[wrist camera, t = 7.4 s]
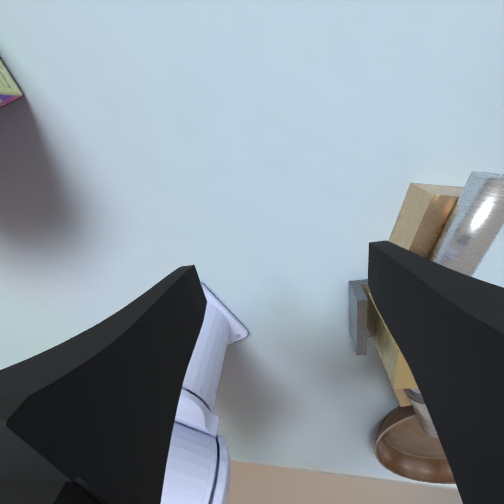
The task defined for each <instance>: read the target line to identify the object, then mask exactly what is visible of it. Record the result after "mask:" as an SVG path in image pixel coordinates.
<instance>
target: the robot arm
mask: <svg viewBox="0 0 504 504" xmlns="http://www.w3.org/2000/svg"><path fill="white" fill-rule="evenodd" d="M368 287H369V290H370V293H371V295H372V298H373V300H374V303H375V305H376V308H377V310H378V311H379V313H380V315H381V317H382V319H383V320H384V322H385V324H386V326H387V328H388V329H389V331H390V333H391V335H392V337H393V338H394V340H395V342H396V344H397V345H398V347H399V349H400V351H401V353H402V354H403V356H404V358H405V360H406V362H407V364H408V366H409V368H410V370H411V372H412V375H413V377H414V379H415V382H416V384H417V386H418V388H419V391H420V393H421V395H422V398H423V400H424V403H425V405H426V408H427V410H428V412H429V415H430V417H431V420H432V422H433V425H434V427H435V430H436V432H437V435H438V437H439V440H440V443H441V445H442V448H443V450H444V453H445V455H446V458H447V461H448V463H449V466H450V468H451V471H452V474H453V477H454V479H455V482H456V485H457V488H458V491H459V493H460V496H461V499H462V502H463V504H504V288H503V287H500V286H497V285H494V284H490V283H487V282H484V281H481V280H478V279H476V278H473V277H470V276H467V275H465V274H462V273H460V272H457V271H455V270H452V269H450V268H447V267H445V266H442V265H440V264H438V263H435V262H433V261H431V260H429V259H426V258H424V257H422V256H420V255H418V254H415V253H413V252H411V251H409V250H407V249H405V248H403V247H400V246H398V245H396V244H394V243H391V242H389V241H379V242H371V243H369V262H368ZM238 334H239V335H238ZM247 335H248V331H247V330H246V328H245V327H244V326H243V325H242V324H241V323H240V322H239V321H238V320H237V319H236V318H235V317H234V316H233V315H232V314H231V313H230V312H229V311H228V310H227V309H226V308H225V307H224V306H223V304H222V303H221V302H220V301H219V300H218V299H217V298H216V297H215V296H214V295H213V294H212V293H211V292H210V291H209V290H208V289H207V288H206V287H205V286H204V285H203V284H202V283H201V282H200V280H199V277H198V274H197V271H196V268H195V266H194V265H190V266H182V267H180V268H178V269H176V270H175V271H173V272H172V273H171V274H169V275H168V276H166V277H165V278H164V279H162V280H161V281H160V282H159V283H157V284H156V285H155V286H153V287H152V288H151V289H149V290H148V291H147V292H145V293H144V294H143V295H141V296H140V297H138V298H137V299H135V300H134V301H133V302H131V303H130V304H128V305H127V306H126V307H124V308H123V309H121V310H120V311H118V312H117V313H115V314H113V315H112V316H110V317H109V318H107V319H105V320H104V321H102V322H100V323H99V324H97V325H95V326H93V327H92V328H90V329H88V330H86V331H84V332H82V333H80V334H79V335H77V336H75V337H73V338H71V339H69V340H67V341H65V342H63V343H61V344H59V345H57V346H55V347H53V348H51V349H49V350H47V351H44V352H42V353H40V354H38V355H36V356H33V357H31V358H29V359H27V360H24V361H22V362H19V363H17V364H15V365H12V366H10V367H7V368H5V369H2V370H0V504H226V500H227V495H228V489H229V482H230V456H229V452H228V447H227V443H226V440H225V438H224V437H223V436H222V435H220V434H217V431H218V426H219V420H220V417H219V416H217V415H215V414H213V409H214V405H215V400H216V395H217V390H218V385H219V381H220V376H221V371H222V366H223V362H224V357H225V352H226V347H227V345H229V344H232V343H234V342H236V341H238V340H240V339H243V338H245V337H246V336H247Z"/></svg>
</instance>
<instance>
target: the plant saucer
mask: <svg viewBox="0 0 504 504" xmlns="http://www.w3.org/2000/svg"><path fill="white" fill-rule="evenodd" d="M374 452H375V456H376V458H377V459H378V461H379V462H380V463H381V465H382V466H384V467H385V468H386V469H388V470H389V471H391V472H393V473H395V474H397V475H400V476H402V477H405V478H409V479H412V480H417V481H422V482H429V483H441V484H456V482H455V479H454V477H453V474H452V471H451V468H450V466H449V463H448V461H447V458H446V455H445V453H444V450H443V448H442V445H441V443H440V440H439V438H434V437H431V436H429V435H427V434H426V433H425V432H423V430H422V429H421V428H420V426H419V423H418V420H417V417H416V414H415V411H414V408H413V405H410V406H404V407H400V406H399V407H398V408H396V409H395V410H393V411H392V412H391V413H390V414H389V415H388V416H387V417H386V419H385V420H384V422H383V423H382V425H381V427H380V430H379V432H378V435H377V438H376V442H375V448H374Z"/></svg>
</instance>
